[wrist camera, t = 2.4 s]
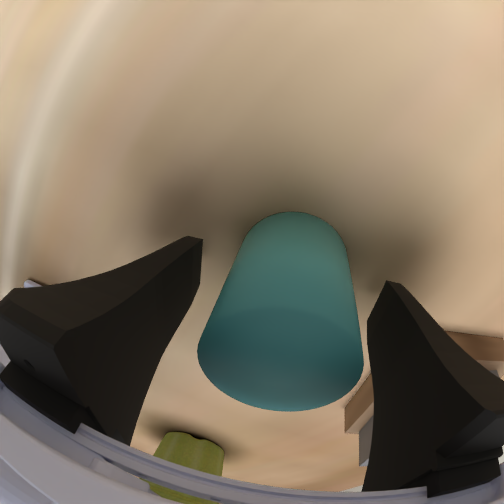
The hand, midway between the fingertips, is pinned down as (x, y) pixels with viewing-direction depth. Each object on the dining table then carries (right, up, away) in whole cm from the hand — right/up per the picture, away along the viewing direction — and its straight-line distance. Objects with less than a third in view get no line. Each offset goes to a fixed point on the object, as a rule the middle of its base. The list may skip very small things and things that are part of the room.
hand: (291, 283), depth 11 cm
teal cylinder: (0, +1, +1) cm, 2 cm away
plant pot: (-7, -18, +13) cm, 23 cm away
